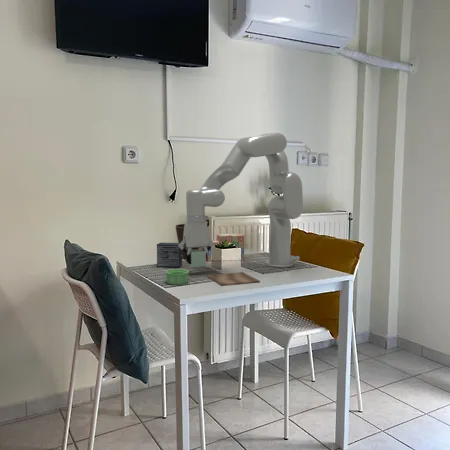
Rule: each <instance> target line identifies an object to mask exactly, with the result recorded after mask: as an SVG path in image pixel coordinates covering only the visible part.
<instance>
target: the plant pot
mask: <svg viewBox="0 0 450 450" xmlns="http://www.w3.org/2000/svg"><path fill="white" fill-rule="evenodd" d="M184 225H185V223H180V224H176V225H175V231H176V236H177V243H181V242H182V241H183V234H184ZM183 247H184V248H185V249H186V248H187V247H186V246H184V245H183ZM191 250H198V247H195V248H191ZM182 259H186V253H185V252H184V251H183V250H182Z"/></svg>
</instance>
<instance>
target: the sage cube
mask: <svg viewBox="0 0 450 450" xmlns="http://www.w3.org/2000/svg"><path fill="white" fill-rule="evenodd" d="M190 255H191V264H188V263H187V265H188V266H189V267H191V268H198V267H206V266H207V262H206V251H204V250H202V249H198V250H191V251H190Z"/></svg>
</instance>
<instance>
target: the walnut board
mask: <svg viewBox="0 0 450 450" xmlns="http://www.w3.org/2000/svg"><path fill="white" fill-rule="evenodd" d="M206 277H207V278H208V279H210V280H212V281H214V282H215V283H216V284H218V285H220V286H221V287H222V286H234V285H236V286H237V285H245V284H246V285H247V284H256V283H260V282H261V281H260V280H258V279H257V278H255V277H253V276H251V275H250V274H248V273H245V272H243V271H240V272H227V273H217V274H207V275H206Z"/></svg>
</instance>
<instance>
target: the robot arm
mask: <svg viewBox="0 0 450 450" xmlns="http://www.w3.org/2000/svg"><path fill="white" fill-rule="evenodd" d="M287 143H288V142H287V138H286V136H285V135H284V134H283V133H281V132H271V133H263V134H260V135H256V136H248V137H242V138H240V139H239V140H237V141H236V143H235V144H234V146H233V147H232V148H231V150H230V151H229V153H228V154H227V156H226V158H225V159H224V161H223V162H222V164H220V166H218V167H217V168H216V169H215V170H214V171H213V172H212V173H211V174H210V175H209V176H208V177H207V179H206V180H205V181H204V182H203V184H202V186H201V187H200V189H189V190H187V191H186V194H185V195H186V197H185V198H186V199H185V203H186V223H184V224H185V225H184V234H183V241H182V242H181V243H180V244H179V245H178V247H179V248H180V249H182V250H183V251H184V252H185V253H186V260H185V261H186V263H187V265H188V264H191V255H190V251H191V248H195V247H202V249H203V250H204V251H206V260H207V253H208V251H209V250H210V249H211V247H212V246H213V245H214V242H213V241H214V240H212V239H211V238H210V236H209V228H208V224H207V222H206V221H208V220H209V216H208V215H206V207H211V208H217V207H220V206H222V205H223V204H224V202H225V199H226V198H225V197H226V196H225V194H224V191H222V190H221V188H222V187H223V186H224V185H226V184H227V183H229V182H230V181H233V180H234V179H236V178H237V177H239V176H240V175H241V173H242V172H243V170H244V168H245V166H246V165H247V164H248V162H249V161H250V159H251V158H259V157H265V158H266V160H267V162H268V169H269V185H270V189H271V191H272V192H273V193H277V194H283V195H278V196H274V197H272V198H271V200H270V201H269V203H268V215H269V216H268V217H269V260H266V261H265V265H266V266H268V267H271V268H279V269H280V268H283V269H284V268H291V267H293V266H294V261H300V256H299V255H291V239H292V233H291V232H292V224H291V220H294V219H298V218H300V217H301V215H302V213H303V210H304V207H303V206H304V201H303V200H304V195H303V184H302V179H301V177H300V176H299V175H298V173H295V172H292V171H290V170H289V160H288V156H287V154H286V151H285V149H286V148H287ZM209 243H210V244H209ZM183 245H184V246H186V247H187V248H186V249H185V248H184V247H183ZM206 246H207V247H206Z"/></svg>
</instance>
